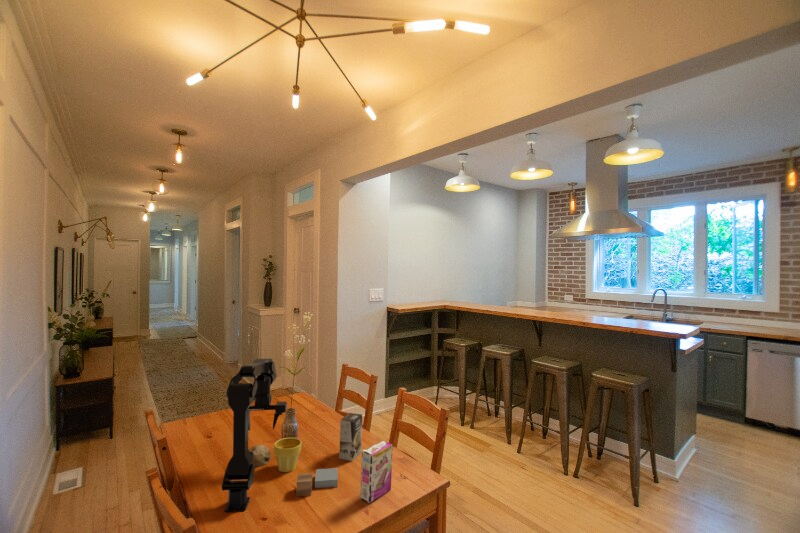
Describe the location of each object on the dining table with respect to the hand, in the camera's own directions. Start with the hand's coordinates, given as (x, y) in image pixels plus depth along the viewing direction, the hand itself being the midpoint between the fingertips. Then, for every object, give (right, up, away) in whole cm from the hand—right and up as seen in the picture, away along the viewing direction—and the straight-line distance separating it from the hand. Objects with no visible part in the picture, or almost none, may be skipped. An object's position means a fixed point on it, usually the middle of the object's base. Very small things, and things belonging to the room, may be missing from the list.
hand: (261, 429), depth 148 cm
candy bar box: (+47, -15, -18) cm, 53 cm away
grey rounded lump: (-3, -14, +3) cm, 15 cm away
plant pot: (+11, -14, -2) cm, 18 cm away
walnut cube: (+22, -14, -17) cm, 31 cm away
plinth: (+28, -14, -11) cm, 33 cm away
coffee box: (+34, -15, +9) cm, 39 cm away
